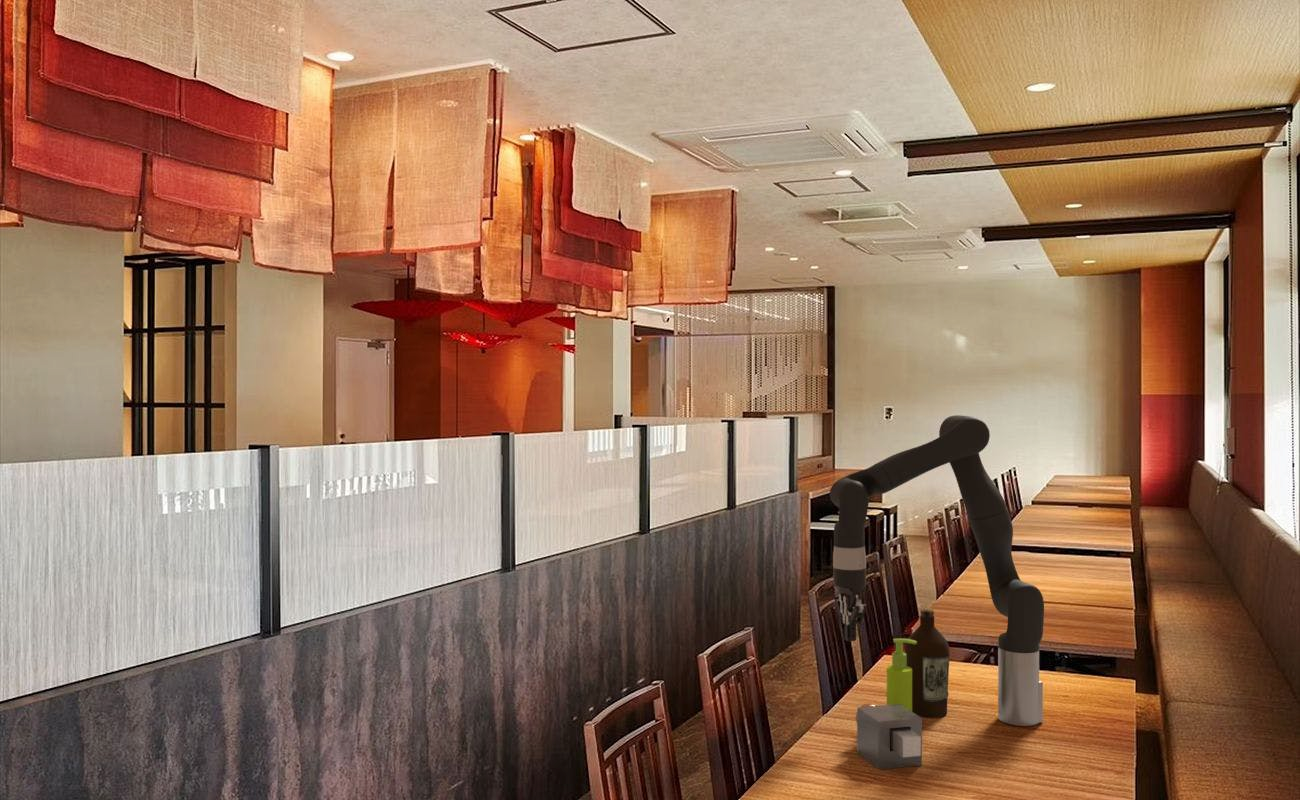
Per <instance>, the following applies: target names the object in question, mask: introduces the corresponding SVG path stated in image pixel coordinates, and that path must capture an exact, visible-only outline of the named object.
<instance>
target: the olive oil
mask: <svg viewBox="0 0 1300 800" xmlns="http://www.w3.org/2000/svg"><path fill="white" fill-rule="evenodd" d="M934 614H935V611H934V610H933V609H920V616H919V623H920V624H919V626H918V627H917V628H916V629H915V630H914V631H913V632H912V633H911V634H910V635H909V637H908V638H907V639H911V640H915V641H917V643H916V644H911V643H905V646H904V652H905V653H906V654H907V666H908V667H911V668H912V712H913V713H915V714H916V715H918V716H920V717H921V718H925V719H927V718H928V719H935V718H936V719H938V718H944V717H945V716H947V714H948V698H949V673H950V656H951V655H950V653H951V652H950V651H951V650H950V646H949V643H948V641H947V639H946V638H945V637H944V635H942V633H941V632H940V631H939V630H938V629H937V628H936V626H935V616H934Z"/></svg>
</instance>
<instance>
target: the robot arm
mask: <svg viewBox="0 0 1300 800" xmlns="http://www.w3.org/2000/svg"><path fill="white" fill-rule="evenodd" d="M938 436H939V437H937V438H935V439H933V440H931V441H928V442H926V443H924V444H922V445H918V446H916V447H913V448H909V449H907V450H903V451H900V452H897V453H895V454H892V455H890V456H889V457H886V458H885V459H882V460H881V461H879V462H877V463H874V464H873V465H871V466H869V467H867V468H865V469H861V470H858V471H855V472H853V473H850V474H848V475H846V476H843V477H841V478H839V479H838V480H836V481H835V482H834V483H833V484H832V485H831V487H830V489H829V498H830V501H831V502H832V504H834V506H835V507H838V508H839V509H838V521H836V522H835V523H834V526H833V551H832V566H833V567H832V570H833V571H832V577H833V578H832V580H833V585H834V587H836V588H838V595H834V596H833V600H834V603H835V606H836V609H837V613H838V616H839V619H840V620H842V623H843V625H844V640H845V641H847V642H855V641H856V640H857V625H858V624H862V621H863V619H864V616H865V614H866V611H867V607H868V606H867V604H866V603H865V604H864V603H862V592H861V589H862V588H865V587H867V555H866V543H865V542H866V541H865V540H866V539H865V535H866V533H865V532H866V531H865V525H866V521H867V516H868V512H869V511H868V510H869V498H870V497H871V496H874V495H883V494H886V493H889V492H890V491H892V490H894V489H897V488H899V487H900V486H903V485H904V484H907V483H908V482H910V481H911V480H913V479H916V478H918V477H920V476H922V475H923V474H926V473H928V472H930V471H932V470H934V469H936V468H940V467H941V466H945V465H946V464H949V465H950V466H951V470H952V472H953V474H954V477H955V479H956V483H957V487H958V489H959V493H960V495H961V499H962V502H963V505H964V508H965V511H966V515H967V518H968V522H969V525H970V527H971V528H970V529H971V531H972V533H973V535H974V538H975V541H976V545H977V547H978V550H979V554H980V556H981V560H982V562H983V565H984V570H985V573H986V578H987V582H988V587H989V592H990V598H991V600H992V604H993V606H994V608H995V609H996V610H997V611H998V613H1000V614H1001V615H1002V616H1004V617H1007V627H1006V631H1005V632H1003V633H1001V634H999V636H998V640H997V641H998V643H997V644H998V647H997V648H998V650H997V655H998V659H997V660H998V661H997V663H998V666H997V669H998V670H997V672H998V673H997V680H998V681H997V682H998V683H997V688H998V689H997V693H998V694H997V696H998V697H997V698H998V699H997V704H998V705H997V707H998V708H997V718H998V720H999V721H1000V722H1002V723H1005V724H1009V725H1012V726H1017V727H1019V726H1020V727H1031V726H1036V725H1038V724H1040V723H1043V721H1044V715H1043V714H1044V712H1043V710H1044V709H1043V708H1044V703H1043V702H1044V699H1043V698H1044V697H1043V696H1044V684H1043V682H1042V680H1040V645H1041V641H1042V638H1043V636H1044V635H1043V634H1044V622H1045V621H1044V620H1045V601H1044V597H1043V594H1042V592H1041V591H1040V589H1039V588H1038V587H1036V586H1035V585H1033V584H1030V583H1028V582H1024V581H1022V580H1021V579H1020V576H1019V574H1018V572H1017V569H1016V567H1015V563H1014V560H1013V556H1012V548H1013V538H1014V526H1013V522H1012V518H1011V515H1010V513H1009V510H1008V509H1009V508H1007V507H1008V506H1007V504H1006V501H1005V498H1004V496H1003V495H1002V493H1001V492H1000V490H999V488H998V487H997V486H996V484H995V483H994V481H993V479H992V478H991V476H989V474H988V472H987V471H986V469H985V467H984V464H983V462H982V460H981V457H980V453H981V452H982V451H983V450H984V449H986V447H987V446H988V444H989V442H990V441H989V440H990V436H991V434H990V429H989V427H988V425H987V424H986V423H985V422H984V421H983V420H982V419H980V418H978V417H974V416H970V415H969V416H968V415H961V414H960V415H959V414H957V415H951V416H948V417H946V418H944V420H943V421H942V423H941V424H940V426H939V431H938Z"/></svg>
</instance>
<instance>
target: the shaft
mask: <svg viewBox="0 0 1300 800" xmlns="http://www.w3.org/2000/svg"><path fill="white" fill-rule="evenodd" d="M869 706H876V705H875V704H873V703H865V704H863V705H861V706H860V707H869ZM855 721H856V722H855V723H857V713H856V714H855ZM890 748H891V749H892V750H893V751H895V752H896V753H897V754H899V755H900V756H902V757H913V756H921V736H920V735H918V734H916V733H915V732H913V731H912V730H910V729H909V728H907V727H900V728H890Z"/></svg>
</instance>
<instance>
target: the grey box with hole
mask: <svg viewBox="0 0 1300 800" xmlns="http://www.w3.org/2000/svg"><path fill="white" fill-rule="evenodd" d="M856 710H857V712H856V714H857V722H856V724H857V725H856V726H857V727H856V729H857V732H856V736H857V737H856V738H857V740H856V742H857V744H856V746H857V749H856V750H857V751H856V752H857V755H859V756H860V757H861V758H862V759H864V760H865V761H867V763H869V764H871V765H872V766H873V767H874V768H876V770H878V771H879V770H887V769H898V768H909V767H915V766H916V767H918V766H922V765H923V717H920V716H918V715H916V714H915V713H913V712H911V711H910V710H908V709H907V708H905V707H903V706H902V705H900V704H893V705H887V704H885V705H875V706H869V707H861V706H860V707H857V709H856ZM900 727H907V728H909V729H910V730H912V731H913V732H915V733H916V734H918V735H920V736H921V756H913V757H902V756H900V755H899V754H897V753H896V752H895V751H893V750H892V749H891V748H890V728H900Z"/></svg>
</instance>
